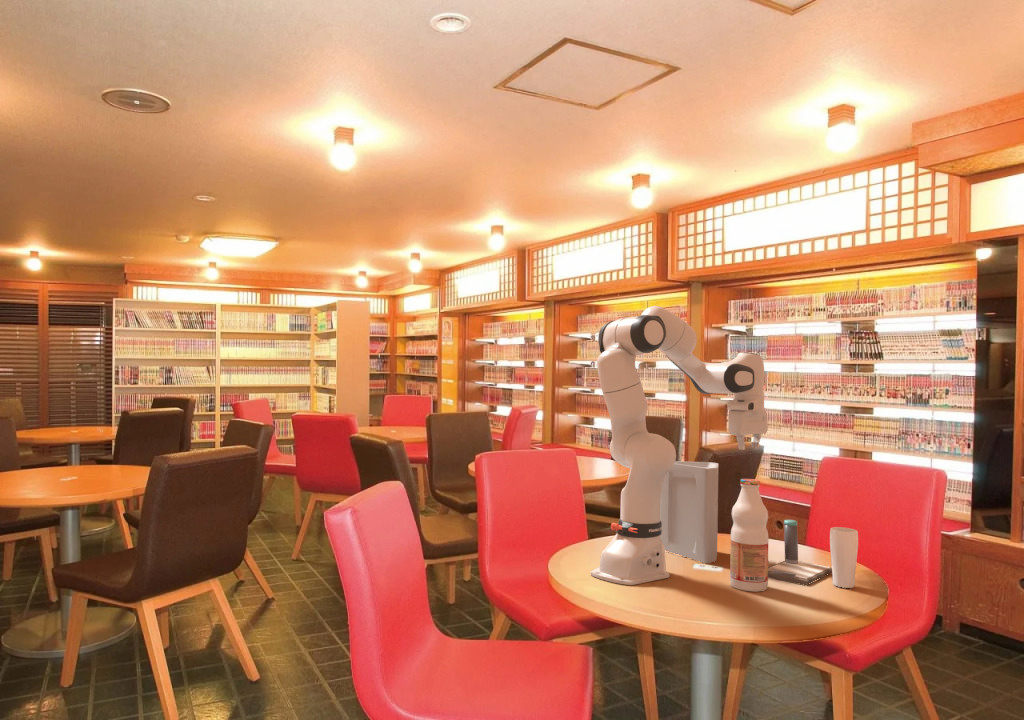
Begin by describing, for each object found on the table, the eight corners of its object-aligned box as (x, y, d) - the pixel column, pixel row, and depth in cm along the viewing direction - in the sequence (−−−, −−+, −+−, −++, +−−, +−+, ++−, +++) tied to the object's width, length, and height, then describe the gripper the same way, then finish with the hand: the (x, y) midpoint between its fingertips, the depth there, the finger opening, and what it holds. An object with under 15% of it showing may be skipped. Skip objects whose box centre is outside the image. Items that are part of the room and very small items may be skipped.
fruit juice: (722, 585, 184) (723, 478, 185) (744, 580, 189) (746, 476, 190) (752, 594, 176) (754, 483, 177) (775, 589, 181) (776, 481, 182)
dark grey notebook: (806, 585, 185) (806, 577, 185) (759, 575, 194) (759, 567, 194) (833, 572, 199) (833, 564, 199) (788, 563, 208) (788, 555, 208)
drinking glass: (855, 584, 187) (856, 528, 188) (859, 591, 181) (859, 533, 181) (828, 581, 190) (828, 526, 190) (830, 588, 183) (831, 530, 184)
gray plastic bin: (738, 557, 213) (739, 466, 214) (705, 563, 205) (707, 468, 206) (690, 544, 229) (691, 459, 230) (658, 550, 221) (660, 461, 222)
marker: (793, 564, 201) (792, 523, 201) (782, 561, 204) (781, 521, 204) (800, 562, 203) (799, 521, 203) (789, 559, 206) (788, 519, 206)
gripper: (754, 403, 228) (753, 446, 228) (724, 404, 214) (724, 449, 213) (773, 404, 224) (772, 447, 224) (744, 405, 209) (743, 451, 209)
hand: (748, 448), depth 218 cm, fingers open, 8 cm apart
